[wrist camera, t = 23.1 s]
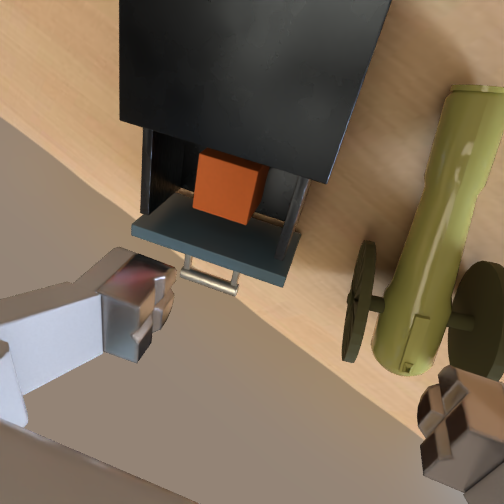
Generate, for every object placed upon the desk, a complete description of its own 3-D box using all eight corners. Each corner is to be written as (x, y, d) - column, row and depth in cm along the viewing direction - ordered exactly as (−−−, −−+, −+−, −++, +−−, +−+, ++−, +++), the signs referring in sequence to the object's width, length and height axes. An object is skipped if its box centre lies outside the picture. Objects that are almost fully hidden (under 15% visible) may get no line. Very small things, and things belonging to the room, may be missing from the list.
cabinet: (338, 145, 33) (326, 185, 25) (177, 97, 34) (119, 120, 27) (412, -67, 24) (429, -108, 17) (194, -116, 26) (117, -173, 18)
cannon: (395, 71, 29) (405, 96, 19) (569, 85, 26) (675, 121, 17) (339, 312, 42) (329, 395, 33) (450, 336, 40) (473, 432, 31)
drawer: (285, 280, 41) (269, 328, 34) (166, 239, 42) (130, 277, 36) (343, 110, 30) (334, 133, 24) (182, 64, 32) (134, 75, 26)
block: (260, 202, 35) (246, 225, 31) (212, 186, 36) (192, 207, 32) (273, 152, 33) (258, 171, 29) (220, 136, 33) (198, 153, 29)
